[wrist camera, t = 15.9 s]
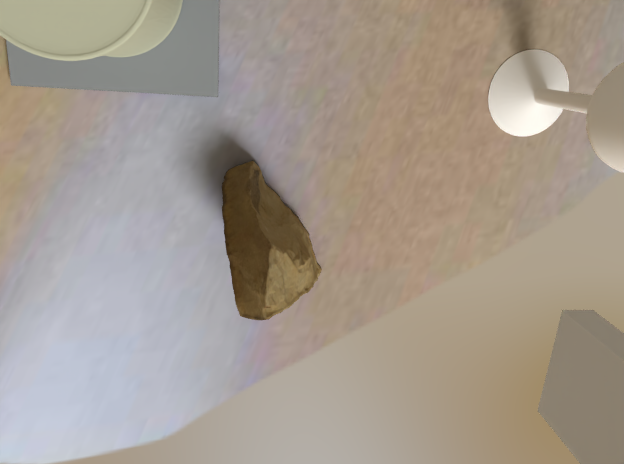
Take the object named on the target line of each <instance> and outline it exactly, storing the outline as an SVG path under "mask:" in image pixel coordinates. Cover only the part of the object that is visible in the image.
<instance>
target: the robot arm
mask: <svg viewBox="0 0 624 464" xmlns="http://www.w3.org/2000/svg"><path fill="white" fill-rule="evenodd" d="M538 412H539V413H540V414H541V415H542V417H543V418H544V419H545V420H546V422H547V423H548V424H549V425H550V427H551V428H552V429H553V430H554V432H555V433H556V434H557V435H558V437H559V438H560V439H561V440H562V442H563V443H564V444H565V445H566V446H567V448H568V449H569V450H570V451H571V453H572V454H573V455H574V456H575V457H576V459H577V460H578V461H579V463H580V464H624V333H623V332H621V331H620V330H619V329H617V328H616V327H615V326H613V325H612V324H610V323H609V322H608V321H607V320H605V319H604V318H603V317H601V316H600V315H599V314H597V313H596V312H595V311H594V310H562V314H561V317H560V322H559V326H558V330H557V334H556V338H555V342H554V346H553V350H552V354H551V358H550V363H549V367H548V371H547V375H546V379H545V383H544V387H543V391H542V395H541V399H540V403H539V407H538Z"/></svg>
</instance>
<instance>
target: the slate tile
mask: <svg viewBox="0 0 624 464" xmlns="http://www.w3.org/2000/svg"><path fill="white" fill-rule="evenodd" d="M6 44H7V53H8V62H9V70H10V79H11V85H14V86H31V87H49V88H67V89H84V90H102V91H119V92H137V93H155V94H172V95H190V96H207V97H218V75H219V0H183V2H182V7H181V11H180V14H179V17H178V20H177V22H176V24H175V26H174V27H173V29H172V31H171V32H170V33H169V35H168V36H167V37H166V38H165V39H164V40H163V41H162V42H161V43H160V44H158V45H157V46H156V47H154V48H152V49H151V50H149V51H147V52H145V53H142V54H139V55H135V56H131V57H109V56H99V57H95V58H92V59H87V60H78V61H63V60H54V59H49V58H45V57H41V56H38V55H35V54H32V53H30V52H27V51H25V50H23V49H21V48H19V47H17V46H15V45H14V44H12V43H11V42H9V41H8V40H6Z"/></svg>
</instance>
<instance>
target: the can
mask: <svg viewBox="0 0 624 464" xmlns="http://www.w3.org/2000/svg"><path fill="white" fill-rule="evenodd" d="M182 2H183V0H0V36H2V37H3V38H5V39H6V40H8V41H9V42H11V43H12V44H14V45H15V46H17V47H19V48H21V49H23V50H25V51H27V52H30V53H32V54H35V55H38V56H41V57H45V58H49V59H54V60H63V61H78V60H87V59H92V58H95V57H99V56H109V57H131V56H135V55H139V54H142V53H145V52H147V51H149V50H151V49H152V48H154V47H156V46H157V45H158V44H160V43H161V42H162V41H163V40H164V39H165V38H166V37H167V36H168V35H169V33H170V32H171V31H172V29H173V27H174V26H175V24H176V22H177V20H178V17H179V14H180V11H181V7H182Z"/></svg>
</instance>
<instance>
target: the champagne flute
mask: <svg viewBox="0 0 624 464" xmlns="http://www.w3.org/2000/svg"><path fill="white" fill-rule="evenodd" d="M488 104H489V110H490V113H491V116H492V118H493V120H494V122H495V123H496V124H497V125H498V126H499V128H501V129H502V130H503V131H505V132H506V133H509V134H511V135H515V136H530V135H534V134H537V133H539V132H541V131H543V130H545V129H546V128H548V127H549V126H550V125H551V124H552V123H553V122H555V121H556V119H557V118H558V117H559V115H560V114H561V112H562V110H563V109H567V110H572V111H577V112H582V113H587V115H586V130H587V134H588V138H589V141H590V144H591V146H592V148H593V150H594V152H595V153H596V154H597V156H598V157H599V158H600V159H601V160H602V161H603V162H605V163H606V164H607V165H609V166H610V167H611V168H613V169H616V170H618V171H620V172H624V62H623V63H621V64H620V65H618V66H617V67H616V68H615V69H613V70H612V71H611V72H610V73H609V74H608V75H607V76H606V77H605V78H604V79H603V80H602V81H601V83H600V84H599V85H598V87H597V88H596V90H595V92H594V93H593V95H587V94H580V93H573V92H569V80H568V76H567V72H566V70H565V68H564V65H563V64H562V63H561V62H560V60H559V59H558V58H557V57H555V56H554V55H553V54H551V53H549V52H547V51H543V50H539V49H532V50H526V51H522V52H520V53H517V54H515V55H513V56H512V57H510V58H509V59H508V60H506V61H505V62H504V63H503V64H502V65H501V66H500V68H499V69H498V71H497V72H496V74H495V75H494V78H493V80H492V82H491V85H490V89H489V95H488Z"/></svg>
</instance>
